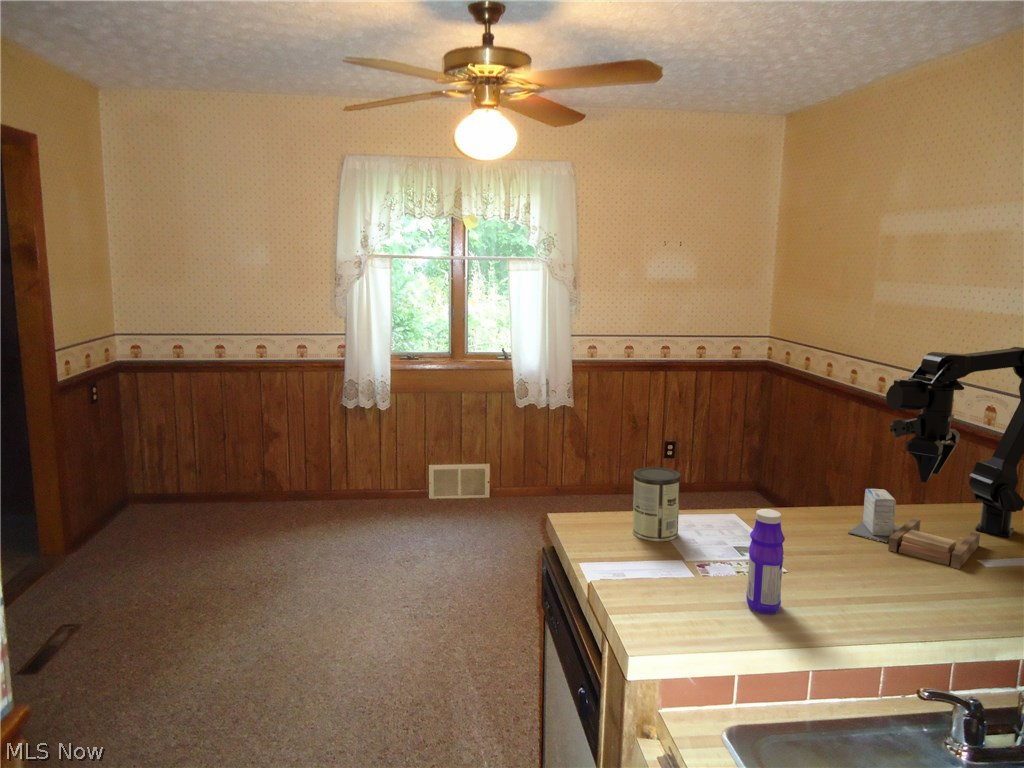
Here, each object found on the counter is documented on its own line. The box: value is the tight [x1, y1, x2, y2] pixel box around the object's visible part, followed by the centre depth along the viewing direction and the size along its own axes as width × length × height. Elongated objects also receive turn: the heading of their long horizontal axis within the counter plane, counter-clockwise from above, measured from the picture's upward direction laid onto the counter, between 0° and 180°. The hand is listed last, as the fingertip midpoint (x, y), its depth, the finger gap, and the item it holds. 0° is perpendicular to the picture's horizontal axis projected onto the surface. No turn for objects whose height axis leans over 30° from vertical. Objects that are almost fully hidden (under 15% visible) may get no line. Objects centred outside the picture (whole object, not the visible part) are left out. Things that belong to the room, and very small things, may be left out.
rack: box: [887, 517, 981, 570], centre depth 146 cm, size 17×13×3 cm
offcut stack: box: [898, 530, 957, 566], centre depth 142 cm, size 6×9×4 cm
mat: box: [847, 521, 902, 544], centre depth 156 cm, size 12×8×1 cm, turn 135°
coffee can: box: [632, 466, 682, 543], centre depth 153 cm, size 10×10×14 cm
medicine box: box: [862, 488, 897, 536], centre depth 155 cm, size 8×4×9 cm, turn 167°
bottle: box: [745, 508, 786, 615], centre depth 119 cm, size 7×6×17 cm
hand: (929, 477), depth 153 cm, fingers open, 9 cm apart
